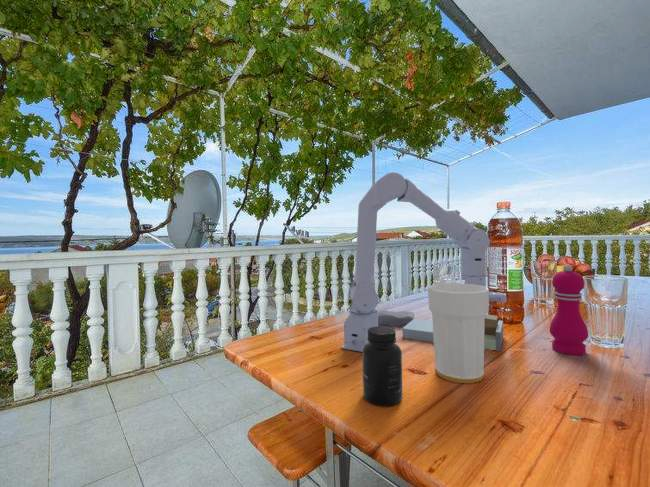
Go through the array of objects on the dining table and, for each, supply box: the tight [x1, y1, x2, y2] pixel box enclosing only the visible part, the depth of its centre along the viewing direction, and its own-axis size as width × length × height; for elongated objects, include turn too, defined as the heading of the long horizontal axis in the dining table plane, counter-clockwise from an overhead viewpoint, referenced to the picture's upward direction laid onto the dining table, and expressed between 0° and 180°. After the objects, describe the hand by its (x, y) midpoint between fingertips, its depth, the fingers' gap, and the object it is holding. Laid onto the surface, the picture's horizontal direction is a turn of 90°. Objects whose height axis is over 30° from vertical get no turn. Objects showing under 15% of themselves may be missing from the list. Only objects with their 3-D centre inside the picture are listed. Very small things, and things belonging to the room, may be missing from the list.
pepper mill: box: [549, 264, 589, 356], centre depth 76 cm, size 7×7×20 cm
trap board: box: [401, 318, 504, 352], centre depth 87 cm, size 24×11×4 cm, turn 59°
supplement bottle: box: [361, 326, 403, 407], centre depth 57 cm, size 7×7×12 cm
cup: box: [427, 282, 490, 384], centre depth 65 cm, size 11×11×17 cm
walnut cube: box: [484, 314, 499, 336], centre depth 83 cm, size 4×4×4 cm
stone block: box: [378, 309, 416, 328], centre depth 104 cm, size 12×5×10 cm
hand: (474, 327), depth 84 cm, fingers closed
